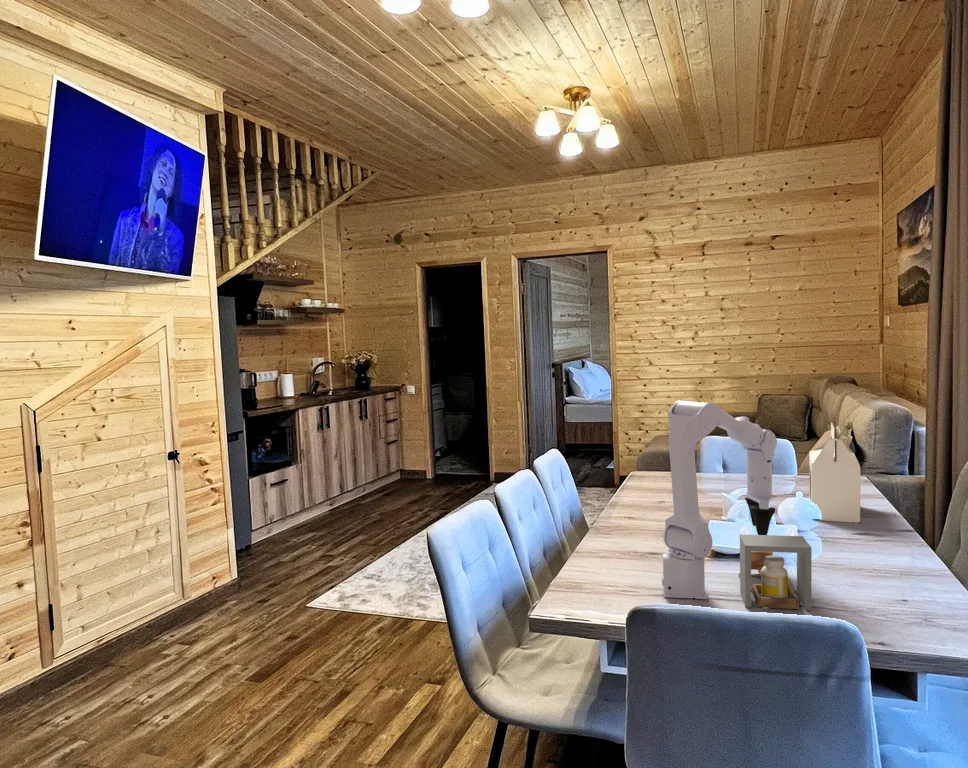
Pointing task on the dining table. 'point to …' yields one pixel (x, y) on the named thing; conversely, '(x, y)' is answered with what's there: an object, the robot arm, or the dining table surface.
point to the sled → (769, 602)
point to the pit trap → (757, 580)
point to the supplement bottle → (774, 578)
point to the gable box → (835, 478)
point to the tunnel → (777, 545)
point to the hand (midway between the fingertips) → (759, 530)
